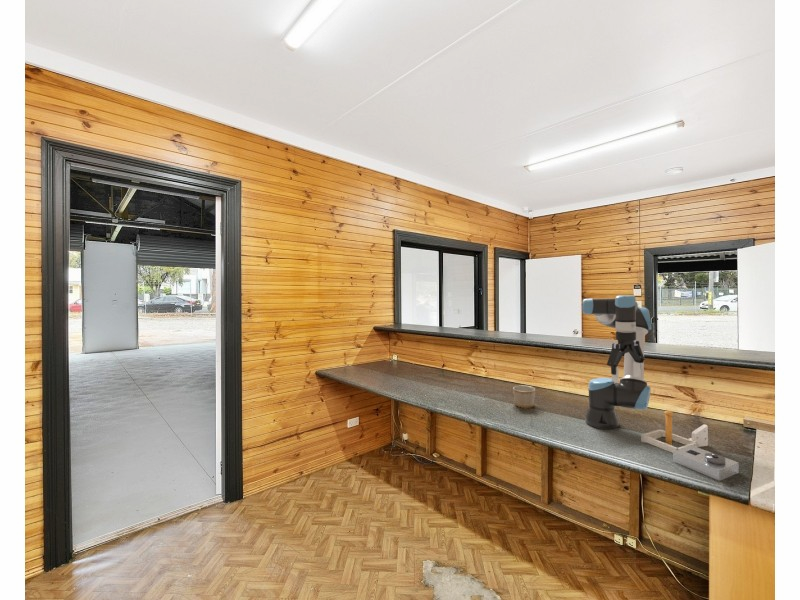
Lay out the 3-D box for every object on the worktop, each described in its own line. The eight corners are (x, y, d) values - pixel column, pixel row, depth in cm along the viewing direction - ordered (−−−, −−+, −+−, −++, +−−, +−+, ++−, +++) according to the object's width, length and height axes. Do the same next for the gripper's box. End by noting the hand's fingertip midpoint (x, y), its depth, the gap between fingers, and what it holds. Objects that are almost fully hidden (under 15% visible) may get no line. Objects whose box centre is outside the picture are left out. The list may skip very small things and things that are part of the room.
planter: (513, 408, 218) (512, 391, 217) (513, 401, 230) (513, 384, 229) (535, 409, 214) (535, 392, 213) (535, 402, 226) (534, 385, 225)
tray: (641, 442, 169) (641, 434, 168) (660, 436, 173) (660, 429, 173) (678, 457, 154) (678, 449, 153) (698, 450, 158) (698, 442, 158)
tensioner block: (672, 463, 149) (672, 445, 149) (691, 456, 154) (691, 439, 153) (719, 483, 134) (719, 463, 134) (738, 475, 139) (738, 455, 138)
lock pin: (662, 444, 164) (662, 411, 163) (667, 442, 166) (667, 410, 165) (670, 447, 161) (670, 413, 160) (675, 445, 163) (675, 412, 162)
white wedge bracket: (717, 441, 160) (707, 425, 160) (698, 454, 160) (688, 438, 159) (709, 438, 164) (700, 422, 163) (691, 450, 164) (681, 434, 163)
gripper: (613, 335, 151) (613, 386, 152) (653, 329, 160) (654, 377, 161) (597, 333, 158) (598, 381, 159) (637, 327, 167) (637, 373, 168)
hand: (626, 379), depth 160 cm, fingers open, 13 cm apart
